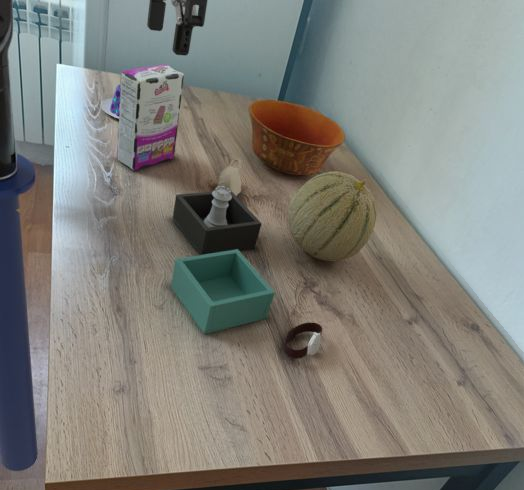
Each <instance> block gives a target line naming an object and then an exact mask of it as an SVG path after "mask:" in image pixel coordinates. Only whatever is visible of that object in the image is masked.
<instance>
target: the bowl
mask: <svg viewBox="0 0 524 490" xmlns="http://www.w3.org/2000/svg"><path fill="white" fill-rule="evenodd" d="M248 115H249V118H250V122H251V148H252V151H253V153H254V154H255V156H256V157H257V158H258V159H259V160H260V161H261V162H263V163H264V164H265V165H267V166H269V167H271V168H273V169H274V170H277V171H279V172H282V173H285V174H289V175H295V176H311V175H314V174H316V173H319V171H321V170H322V169H323V167H324V166H325V164H326V162H327V161H328V159H329V158H330V156H331V155H332V153H334V152H335V151H336V150H337V149H338V148H339V147H340V146H341V145H342V144H344V142H345V140H346V135H345V132H344V130H343V129H342V127H341V126H340V125H339V124H338V123H337V122H336V121H334V120H332V119H330V118H329V117H327V116H326V115H324V114H322V113H320V112H317V111H316V110H314V109H311V108H308V107H305V106H302V105H299V104H296V103H293V102H292V103H291V102H286V101H283V100H275V99H261V100H260V99H257V100H255V101H253V102H251V103H249V105H248Z"/></svg>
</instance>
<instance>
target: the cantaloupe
mask: <svg viewBox="0 0 524 490" xmlns="http://www.w3.org/2000/svg"><path fill="white" fill-rule="evenodd" d="M366 184H367V180H366V179H362V180H359V179H357V178H356V177H355V176H353V175H351V174H349V173H346V172H342V171H328V172H327V171H326V172H322V173H320V174H317V175H315V176H314V177H312V178H309V180H307V181H306V182H305V183H304V184H303V185H302V186H301V187H300V188H299V189H298V190H297V192H296V194H295V195H294V197H293V198H292V201H291V203H290V206H289V209H288V214H287V215H288V217H287V218H288V220H287V221H288V226H289V230H290V233H291V236H292V238H293V239H294V241H295V242H296V244H298V246H299V247H300V248H301V249H302V250H303V251H304V252H305V253H307V254H308V255H310V256H311V257H313V258H315V259H317V260H321V261H326V262H339V261H343V260H344V261H345V260H347V259H349V258H351V257H353V256H355V255H356V254H358V253H359V252H360V251H361V250H362V249H363V248H364V247H365V246H366V245H367V243H368V242H369V240H370V239H371V236H372V234H373V232H374V229H375V226H376V223H377V205H376V202H375V200H374V197H373V195H372V192H371V191H370V190H369V188H368V187H367V186H366Z"/></svg>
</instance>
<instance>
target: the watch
mask: <svg viewBox="0 0 524 490" xmlns="http://www.w3.org/2000/svg"><path fill="white" fill-rule="evenodd" d="M309 332H310V333H313V334H312V336H311V337H310V340H309V341H308V343H307V345H306V346H305V347H303V348H301V349H293V348H291V347H289V346H288V344H289V343H290V342H291V341H292V340H293V339H295V338H296V337H297V336H299V335H300V334H302V333H309ZM322 333H323V326H322V325H321V324H319V323H317V322H303V323H301V324H298V325H297V326H295V327H292V328H291V329H290V330H289V331H288V333H287V334H286V336H285V338H284V349H283V350H284V354H285V355H286V357H288V358H290V359H295V360H298V359H302V358H304V357H306V356H308V355H309V356H314V355H315V354H316V353H317V351H318V350H319V348H320V345H321V340H322Z"/></svg>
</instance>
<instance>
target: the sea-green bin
mask: <svg viewBox="0 0 524 490" xmlns="http://www.w3.org/2000/svg"><path fill="white" fill-rule="evenodd" d="M170 283H171V284H170V289H172V291H173V292H174V294H175V295H176V296H177V298H178V299H179V301H180V302H181V303H182V305H183V306H184V308H185V309H186V310H187V312H188V313H189V315H190V316H191V318H192V319H193V320H194V322H195V323H196V324H197V326H198V328H199V329H200V330H201V332H202V333H203V334H204V335H207V334H210V333H214V332H218V331H222V330H226V329H230V328H233V327H239V326H242V325H246V324H250V323H254V322H258V321H262V320H266V319H267V318H268V315H269V313H270V309H271V306H272V304H273V303H272V302H273V299H274V297H275V294H276V292H275V291H274V290H273V288H272V287H271V286H270V285H269V283H268V282H267V281H266V280H265V279H264V278H263V276H261V274H260V273H259V272H258V271H257V270H256V268H255V267H254V266H253V265H252V263H250V262H249V260H248V259H247V258H246V257H245V256H244V255H243V254H242V251H239V250H238V249H236V250H230V251H223V252H217V253H211V254H204V255H199V254H198V255H192V256H185V257H180V258H175V259H174V264H173V270H172V277H171V282H170Z"/></svg>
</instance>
